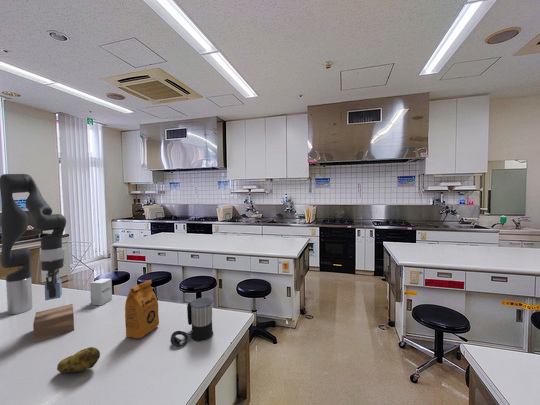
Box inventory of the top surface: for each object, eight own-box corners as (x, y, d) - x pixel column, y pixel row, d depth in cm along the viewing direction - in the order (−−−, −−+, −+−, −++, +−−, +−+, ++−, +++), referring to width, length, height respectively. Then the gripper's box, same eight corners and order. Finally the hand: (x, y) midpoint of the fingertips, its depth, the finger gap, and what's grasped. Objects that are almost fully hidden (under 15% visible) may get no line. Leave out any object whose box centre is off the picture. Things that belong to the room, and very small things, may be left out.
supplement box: (101, 305, 132) (100, 283, 131) (90, 304, 133) (89, 282, 133) (112, 299, 139) (111, 278, 139) (102, 299, 140) (101, 278, 140)
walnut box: (36, 329, 109) (35, 312, 109) (73, 319, 118) (72, 303, 117) (34, 342, 99) (33, 323, 99) (74, 330, 108) (73, 313, 108)
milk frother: (217, 331, 105) (216, 298, 105) (195, 354, 90) (194, 316, 90) (190, 326, 110) (190, 294, 109) (165, 346, 95) (164, 310, 94)
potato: (80, 359, 88) (79, 338, 88) (105, 367, 84) (104, 345, 84) (53, 375, 80) (52, 352, 80) (79, 384, 76) (78, 360, 76)
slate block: (47, 296, 109) (46, 281, 108) (61, 294, 111) (61, 279, 111) (45, 300, 104) (44, 284, 104) (60, 297, 107) (59, 282, 107)
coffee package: (162, 326, 110) (161, 279, 109) (139, 342, 98) (137, 290, 97) (146, 322, 113) (145, 277, 112) (122, 337, 101) (120, 287, 101)
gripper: (44, 256, 111) (46, 292, 112) (36, 263, 99) (38, 303, 100) (65, 254, 115) (66, 288, 116) (60, 260, 104) (62, 298, 104)
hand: (53, 295), depth 108 cm, fingers closed on slate block, 5 cm apart
